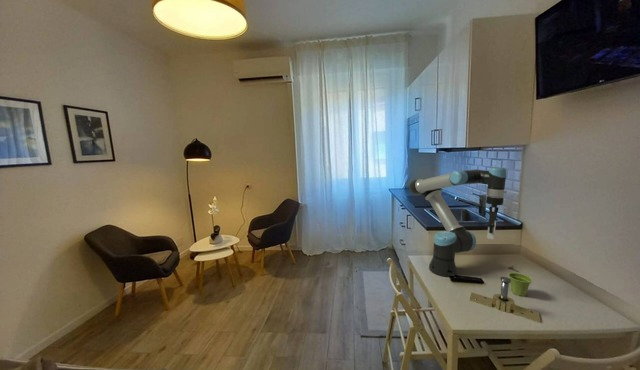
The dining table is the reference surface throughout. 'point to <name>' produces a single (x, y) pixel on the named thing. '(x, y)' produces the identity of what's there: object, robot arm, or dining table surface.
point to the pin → (504, 288)
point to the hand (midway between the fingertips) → (491, 235)
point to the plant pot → (519, 283)
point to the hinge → (505, 306)
